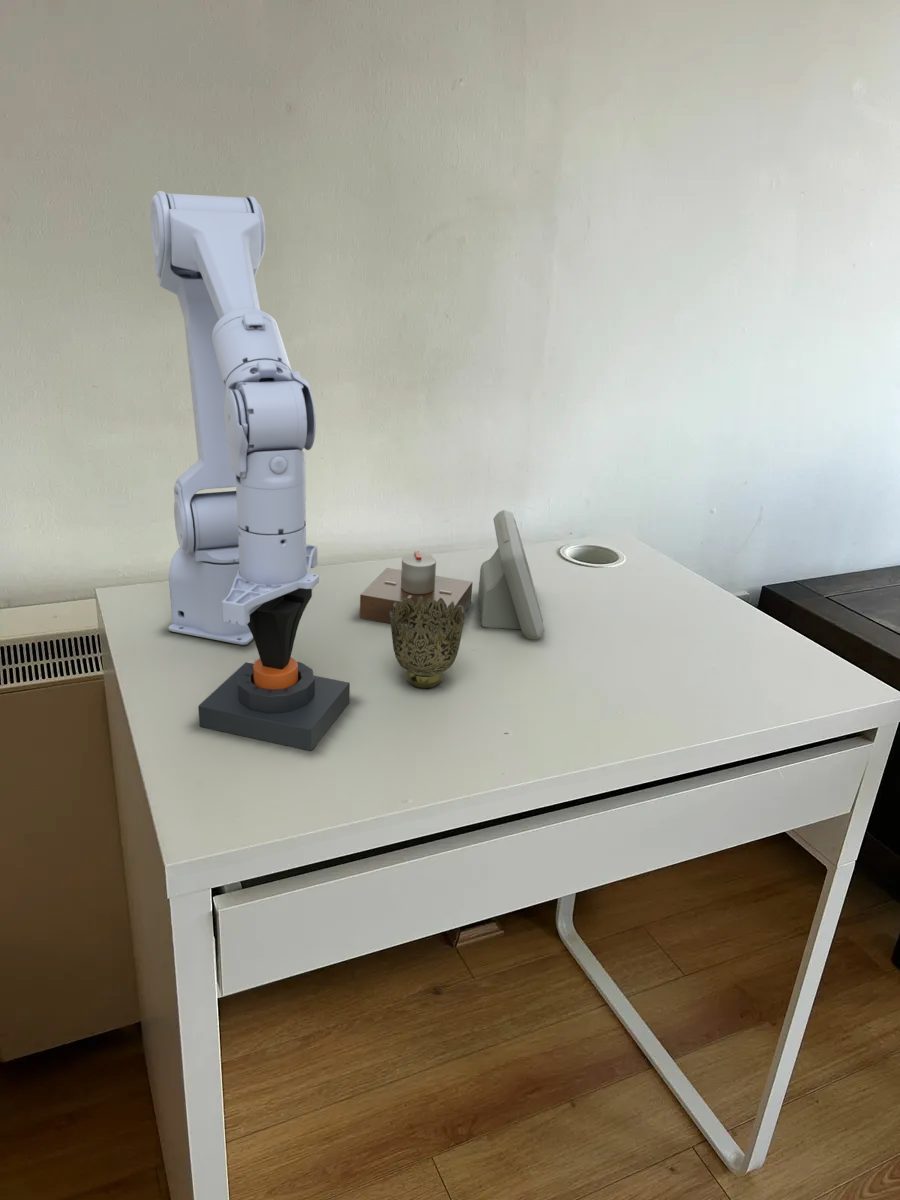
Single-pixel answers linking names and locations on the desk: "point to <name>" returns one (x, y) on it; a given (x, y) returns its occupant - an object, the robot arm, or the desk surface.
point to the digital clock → (509, 584)
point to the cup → (426, 638)
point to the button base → (276, 708)
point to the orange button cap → (275, 675)
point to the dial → (418, 573)
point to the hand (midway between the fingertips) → (275, 664)
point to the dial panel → (408, 594)
